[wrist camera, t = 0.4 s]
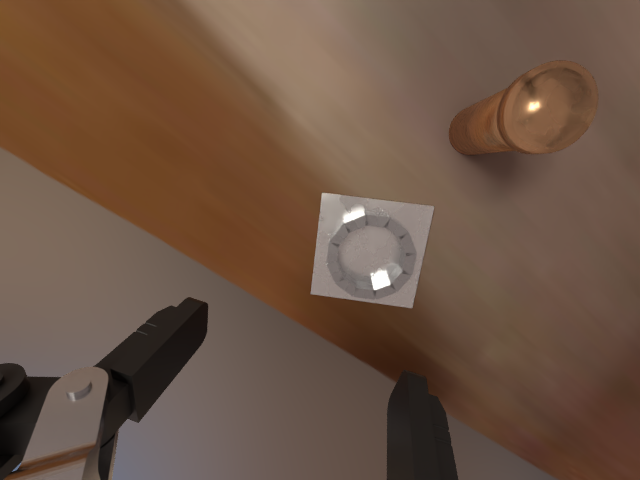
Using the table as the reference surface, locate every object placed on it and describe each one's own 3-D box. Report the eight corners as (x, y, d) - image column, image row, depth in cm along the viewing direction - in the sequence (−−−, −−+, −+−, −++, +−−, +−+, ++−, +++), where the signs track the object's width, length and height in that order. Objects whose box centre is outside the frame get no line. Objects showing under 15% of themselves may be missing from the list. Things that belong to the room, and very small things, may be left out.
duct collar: (322, 192, 34) (320, 194, 31) (432, 205, 33) (441, 209, 30) (311, 292, 37) (308, 302, 34) (411, 305, 36) (417, 317, 33)
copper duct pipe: (452, 99, 30) (519, 56, 19) (507, 104, 30) (611, 64, 18) (439, 155, 32) (495, 148, 20) (492, 161, 31) (580, 157, 20)
